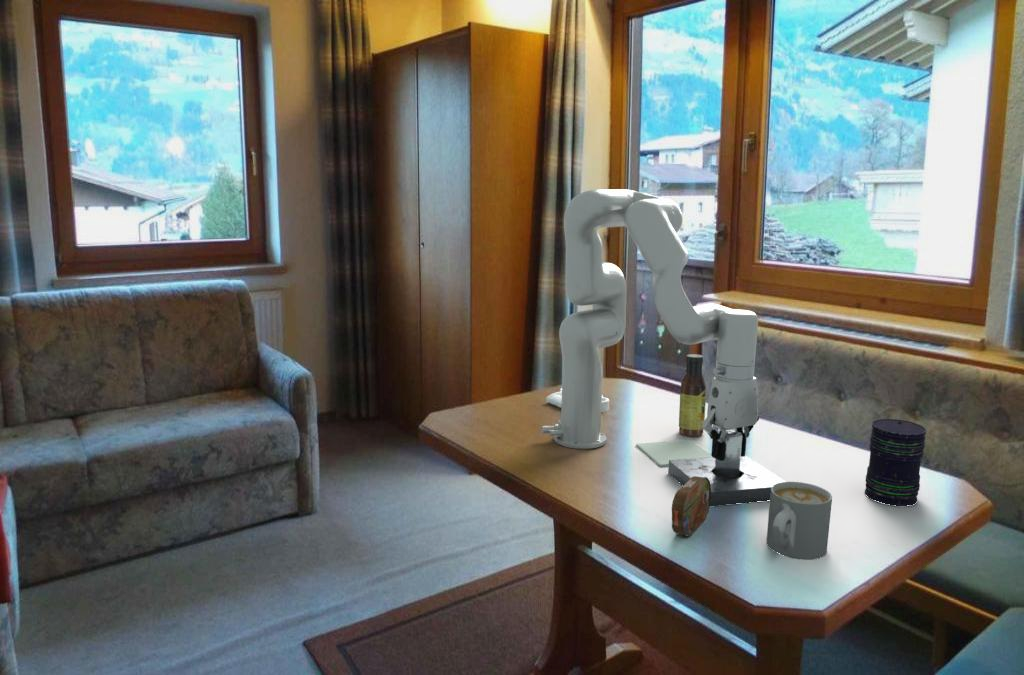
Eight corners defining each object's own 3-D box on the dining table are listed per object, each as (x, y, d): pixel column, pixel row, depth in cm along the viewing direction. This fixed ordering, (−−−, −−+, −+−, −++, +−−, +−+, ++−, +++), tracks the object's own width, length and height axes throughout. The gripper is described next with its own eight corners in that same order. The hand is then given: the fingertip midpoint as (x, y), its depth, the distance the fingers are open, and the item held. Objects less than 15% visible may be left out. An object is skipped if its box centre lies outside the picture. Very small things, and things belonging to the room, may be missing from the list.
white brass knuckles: (539, 402, 224) (579, 395, 232) (579, 418, 210) (620, 410, 218) (539, 391, 224) (579, 383, 232) (579, 406, 209) (621, 398, 217)
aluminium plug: (726, 481, 161) (729, 438, 159) (709, 473, 165) (712, 431, 163) (744, 477, 163) (747, 434, 161) (727, 469, 168) (730, 427, 166)
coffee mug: (789, 528, 145) (794, 477, 143) (838, 550, 137) (844, 495, 135) (741, 547, 138) (745, 493, 136) (790, 570, 130) (795, 513, 128)
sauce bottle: (706, 437, 195) (711, 359, 191) (680, 437, 195) (685, 358, 191) (700, 429, 201) (705, 353, 197) (675, 428, 201) (680, 352, 197)
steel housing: (707, 507, 154) (708, 492, 153) (668, 473, 171) (668, 460, 171) (789, 499, 158) (790, 485, 158) (743, 467, 175) (744, 454, 175)
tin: (684, 543, 139) (686, 498, 137) (666, 539, 140) (669, 494, 139) (711, 513, 151) (714, 472, 150) (695, 510, 153) (698, 468, 151)
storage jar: (916, 511, 154) (925, 437, 151) (861, 500, 158) (869, 429, 155) (918, 493, 162) (927, 423, 159) (866, 484, 167) (874, 416, 164)
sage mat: (660, 466, 175) (660, 464, 175) (636, 445, 188) (636, 443, 188) (718, 462, 178) (718, 460, 178) (690, 441, 192) (690, 439, 191)
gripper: (715, 380, 152) (709, 469, 156) (779, 370, 160) (771, 456, 164) (689, 371, 159) (684, 457, 163) (752, 362, 167) (745, 445, 171)
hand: (728, 455), depth 163 cm, fingers closed on aluminium plug, 5 cm apart
